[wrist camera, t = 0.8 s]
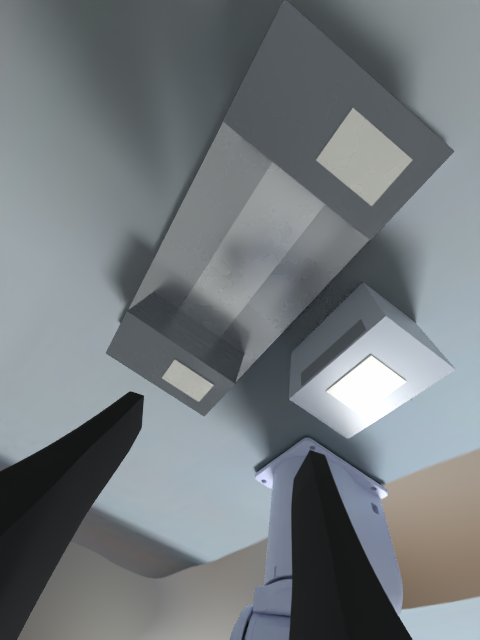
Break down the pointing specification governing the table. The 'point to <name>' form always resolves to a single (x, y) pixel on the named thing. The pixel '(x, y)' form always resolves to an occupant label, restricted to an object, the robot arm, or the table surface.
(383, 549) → the robot arm
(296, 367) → the block
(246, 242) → the rail base
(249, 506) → the table surface
